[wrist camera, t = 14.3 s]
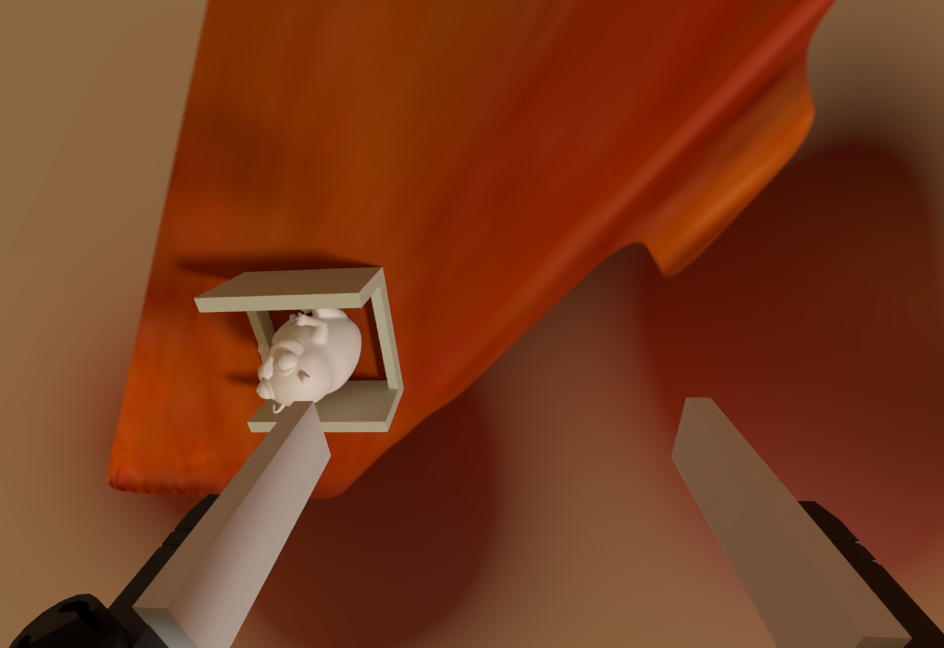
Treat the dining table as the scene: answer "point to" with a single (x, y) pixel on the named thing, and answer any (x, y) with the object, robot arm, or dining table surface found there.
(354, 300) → the beige open frame
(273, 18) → the dining table surface
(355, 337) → the figurine
